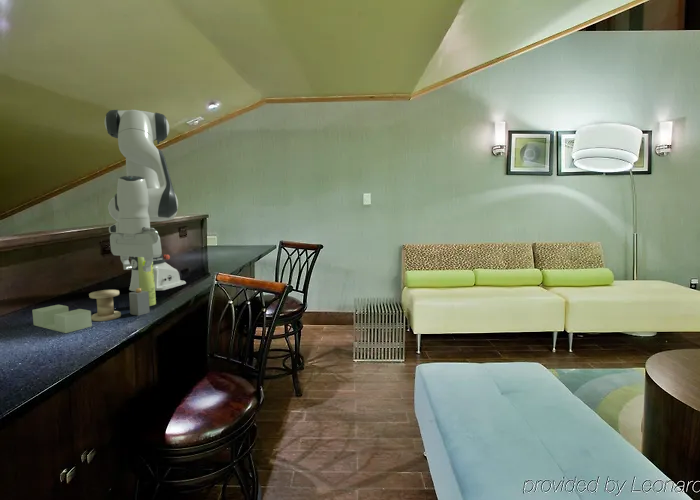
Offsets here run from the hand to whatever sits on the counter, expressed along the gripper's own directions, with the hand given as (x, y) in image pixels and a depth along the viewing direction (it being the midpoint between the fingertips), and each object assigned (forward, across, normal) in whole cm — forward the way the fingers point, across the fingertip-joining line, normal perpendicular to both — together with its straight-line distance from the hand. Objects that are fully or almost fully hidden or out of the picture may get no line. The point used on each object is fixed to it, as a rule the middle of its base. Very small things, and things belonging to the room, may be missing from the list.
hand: (137, 270), depth 128 cm
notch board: (+14, +8, +18) cm, 25 cm away
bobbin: (+14, +6, +8) cm, 17 cm away
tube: (+14, +8, -8) cm, 18 cm away
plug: (+14, 0, 0) cm, 14 cm away
